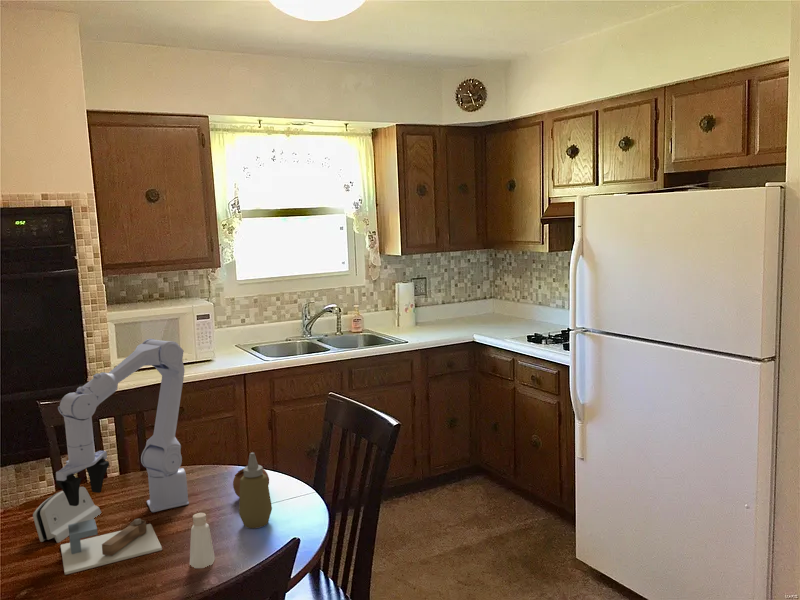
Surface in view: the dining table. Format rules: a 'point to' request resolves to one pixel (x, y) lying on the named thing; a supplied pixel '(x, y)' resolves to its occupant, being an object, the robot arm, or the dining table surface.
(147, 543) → the keeper board
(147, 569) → the dining table surface
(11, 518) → the dining table surface
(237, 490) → the onion
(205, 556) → the pepper shaker
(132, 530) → the link arm
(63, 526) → the white rounded block
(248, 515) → the squeeze bottle
